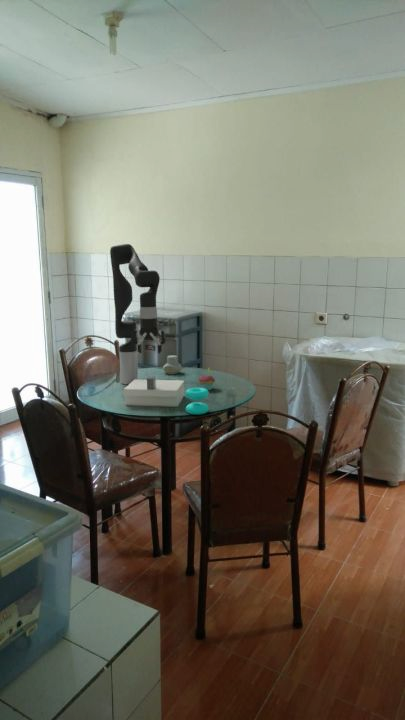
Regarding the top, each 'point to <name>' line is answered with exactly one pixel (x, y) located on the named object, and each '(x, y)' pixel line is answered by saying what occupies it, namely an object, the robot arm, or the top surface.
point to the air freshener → (172, 365)
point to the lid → (153, 388)
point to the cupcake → (206, 381)
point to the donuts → (197, 407)
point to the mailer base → (156, 400)
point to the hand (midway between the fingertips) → (149, 353)
